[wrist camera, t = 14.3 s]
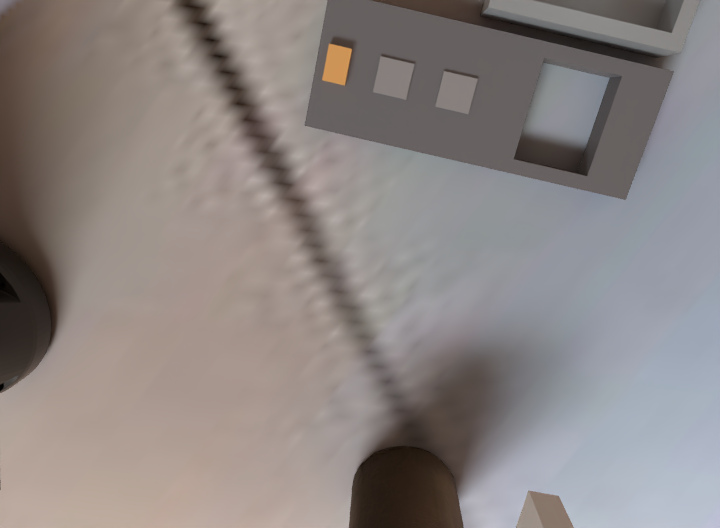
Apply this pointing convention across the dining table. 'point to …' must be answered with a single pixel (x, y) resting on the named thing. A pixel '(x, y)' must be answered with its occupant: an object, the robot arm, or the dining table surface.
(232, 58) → the dining table surface
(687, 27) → the tray
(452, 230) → the dining table surface
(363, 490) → the pillar candle
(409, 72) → the power strip
